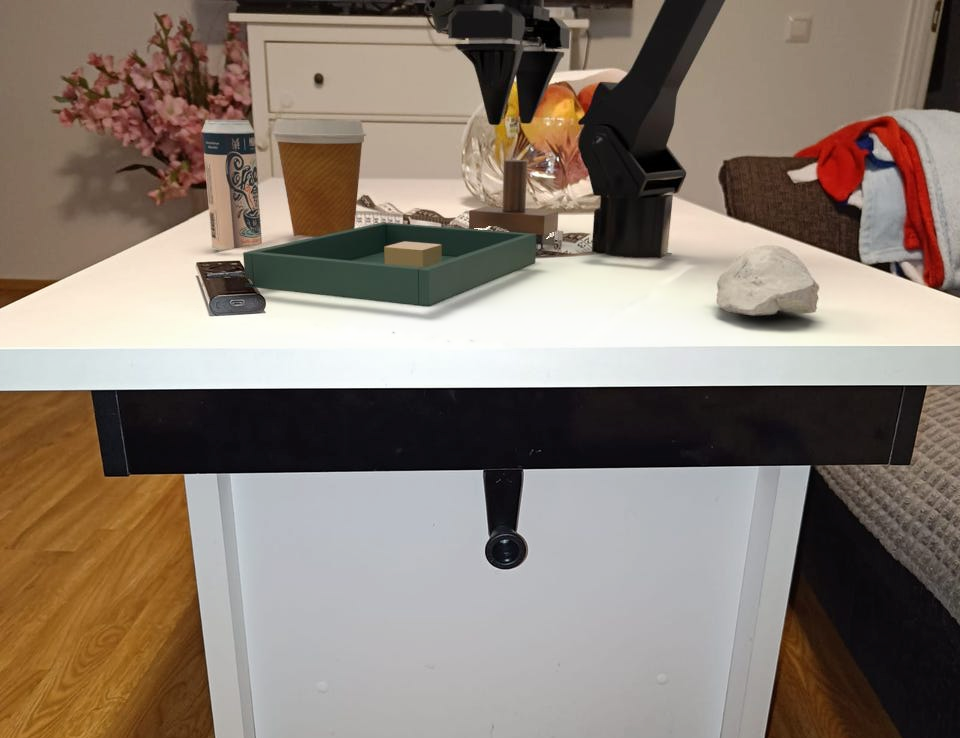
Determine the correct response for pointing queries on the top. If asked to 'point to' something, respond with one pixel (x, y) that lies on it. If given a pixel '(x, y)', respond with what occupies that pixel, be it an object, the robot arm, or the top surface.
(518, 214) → the scrub brush
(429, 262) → the tan square block
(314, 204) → the disposable coffee cup
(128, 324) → the top surface
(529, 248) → the tray
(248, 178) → the coffee drink can
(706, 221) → the top surface
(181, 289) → the top surface
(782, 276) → the grey stone
